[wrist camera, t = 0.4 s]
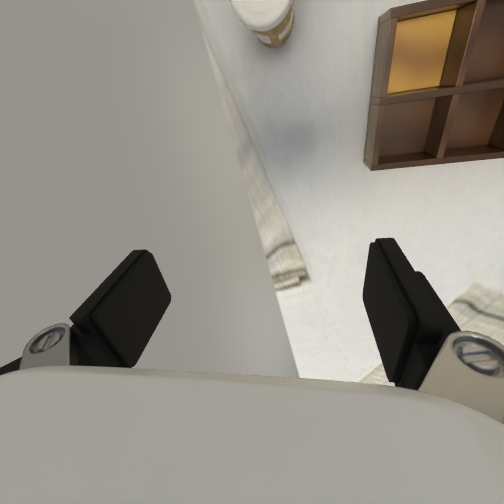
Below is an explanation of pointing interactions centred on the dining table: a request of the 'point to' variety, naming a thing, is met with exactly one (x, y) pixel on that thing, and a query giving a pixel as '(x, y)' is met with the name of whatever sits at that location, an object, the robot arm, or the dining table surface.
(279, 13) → the sprinkles bottle
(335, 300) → the dining table surface
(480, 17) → the tray
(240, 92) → the dining table surface
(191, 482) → the robot arm
